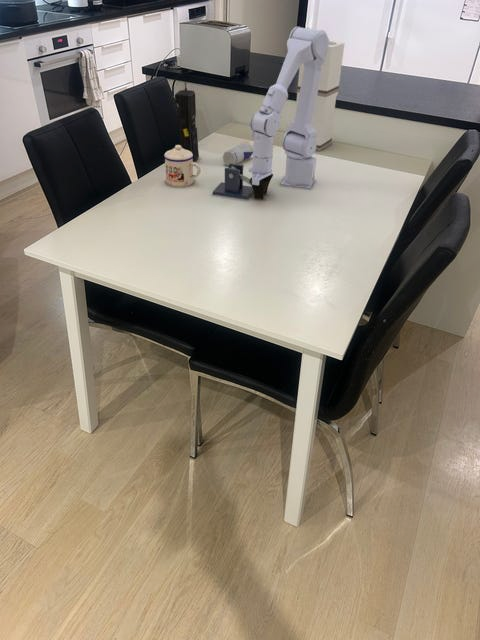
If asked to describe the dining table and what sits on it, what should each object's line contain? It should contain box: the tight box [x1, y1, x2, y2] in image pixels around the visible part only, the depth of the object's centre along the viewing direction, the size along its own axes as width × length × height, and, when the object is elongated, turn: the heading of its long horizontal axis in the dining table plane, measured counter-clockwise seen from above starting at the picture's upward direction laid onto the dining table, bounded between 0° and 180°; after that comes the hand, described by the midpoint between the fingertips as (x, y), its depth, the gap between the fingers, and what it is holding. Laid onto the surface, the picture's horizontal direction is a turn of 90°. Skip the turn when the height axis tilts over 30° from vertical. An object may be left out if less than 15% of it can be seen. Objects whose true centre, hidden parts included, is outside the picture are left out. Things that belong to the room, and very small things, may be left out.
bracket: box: [212, 163, 254, 200], centre depth 156 cm, size 11×8×8 cm
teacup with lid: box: [163, 144, 201, 187], centre depth 160 cm, size 12×9×12 cm
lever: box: [231, 166, 251, 186], centre depth 154 cm, size 12×3×3 cm, turn 74°
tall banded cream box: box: [294, 40, 345, 152], centre depth 186 cm, size 11×11×35 cm
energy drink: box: [222, 142, 253, 167], centre depth 178 cm, size 5×5×12 cm
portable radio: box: [174, 82, 200, 163], centre depth 172 cm, size 8×6×25 cm
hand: (260, 199), depth 157 cm, fingers open, 3 cm apart
